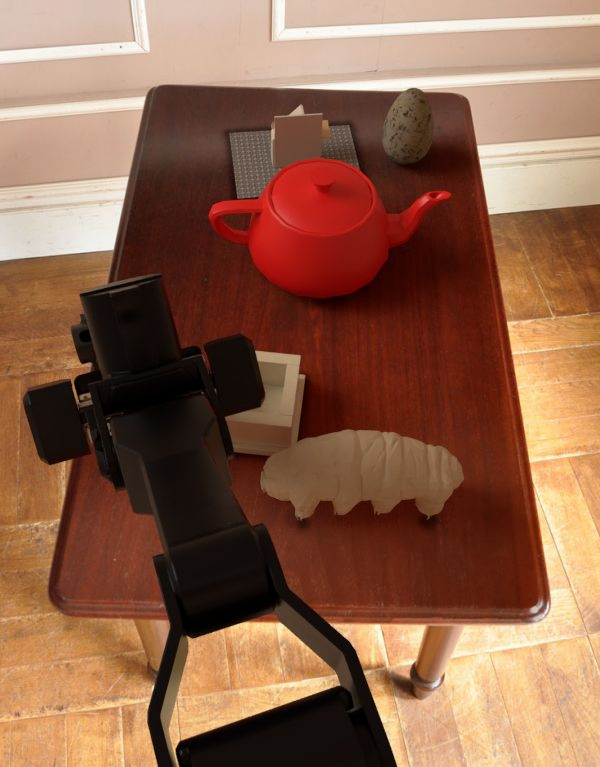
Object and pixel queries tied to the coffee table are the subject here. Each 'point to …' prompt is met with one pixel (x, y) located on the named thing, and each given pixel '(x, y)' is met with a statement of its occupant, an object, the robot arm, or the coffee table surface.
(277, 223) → the teapot
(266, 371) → the holder
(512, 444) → the coffee table surface
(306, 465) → the model
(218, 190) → the coffee table surface
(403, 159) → the decorative egg
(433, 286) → the coffee table surface
